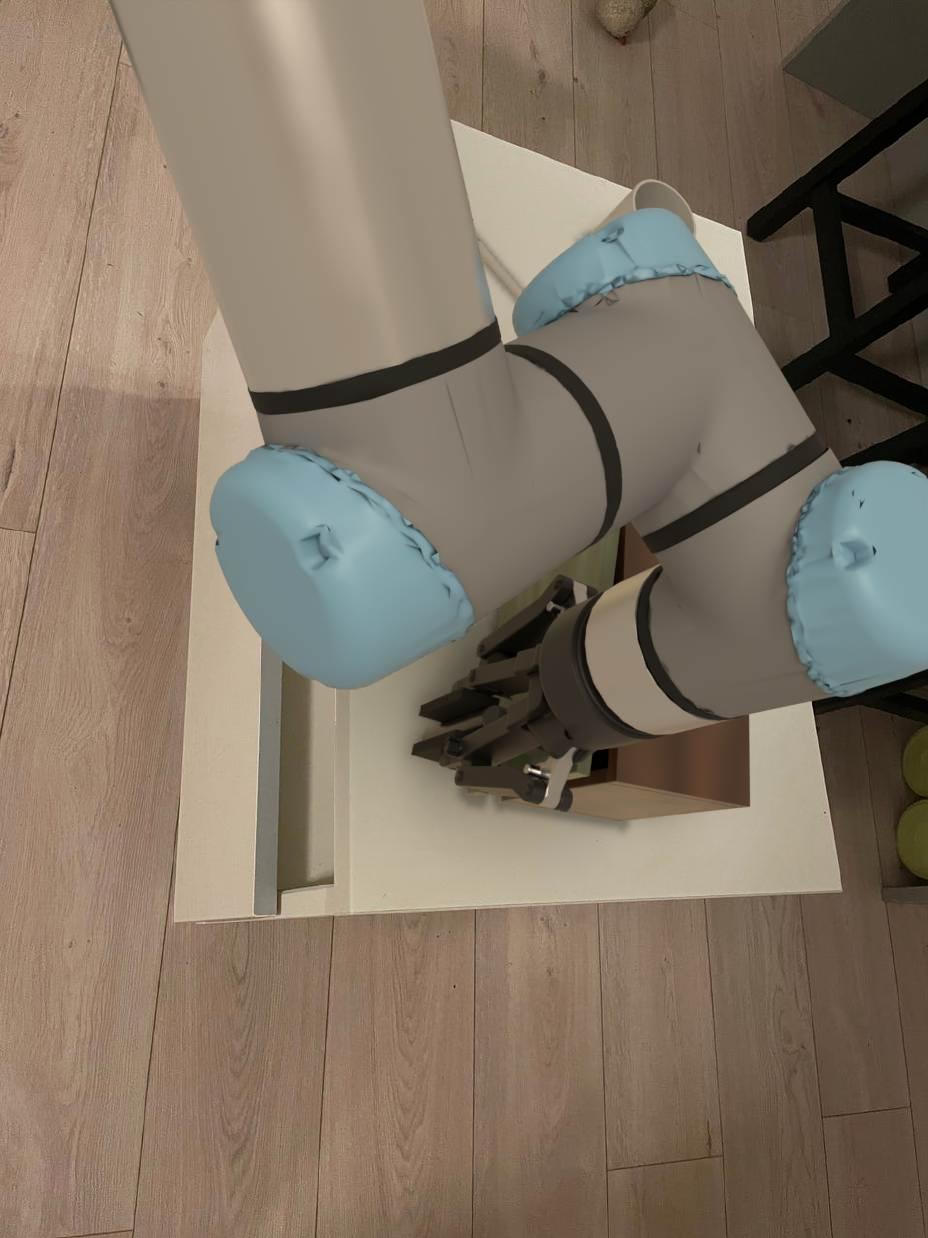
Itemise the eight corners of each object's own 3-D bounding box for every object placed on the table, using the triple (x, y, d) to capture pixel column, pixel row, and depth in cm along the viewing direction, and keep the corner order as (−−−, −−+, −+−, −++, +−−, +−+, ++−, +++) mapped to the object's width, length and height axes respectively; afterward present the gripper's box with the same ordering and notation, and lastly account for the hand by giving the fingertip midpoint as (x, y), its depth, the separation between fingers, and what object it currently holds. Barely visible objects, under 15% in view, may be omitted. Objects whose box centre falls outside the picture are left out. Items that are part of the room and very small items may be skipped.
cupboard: (497, 801, 70) (616, 781, 57) (514, 581, 76) (626, 518, 63) (616, 821, 75) (750, 807, 62) (623, 612, 80) (747, 559, 68)
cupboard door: (399, 776, 67) (499, 748, 54) (443, 554, 73) (541, 484, 61) (476, 797, 69) (590, 776, 57) (513, 580, 76) (621, 518, 63)
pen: (524, 318, 84) (533, 309, 83) (419, 196, 82) (426, 186, 81) (530, 312, 85) (539, 304, 83) (426, 192, 83) (433, 181, 81)
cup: (572, 286, 88) (629, 228, 80) (581, 204, 91) (637, 142, 84) (633, 316, 91) (694, 263, 83) (640, 236, 94) (699, 178, 86)
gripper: (693, 835, 43) (462, 857, 63) (715, 545, 48) (496, 649, 68) (557, 797, 40) (361, 832, 60) (597, 493, 45) (405, 618, 65)
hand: (433, 735), depth 64 cm, fingers closed on cupboard door, 2 cm apart
